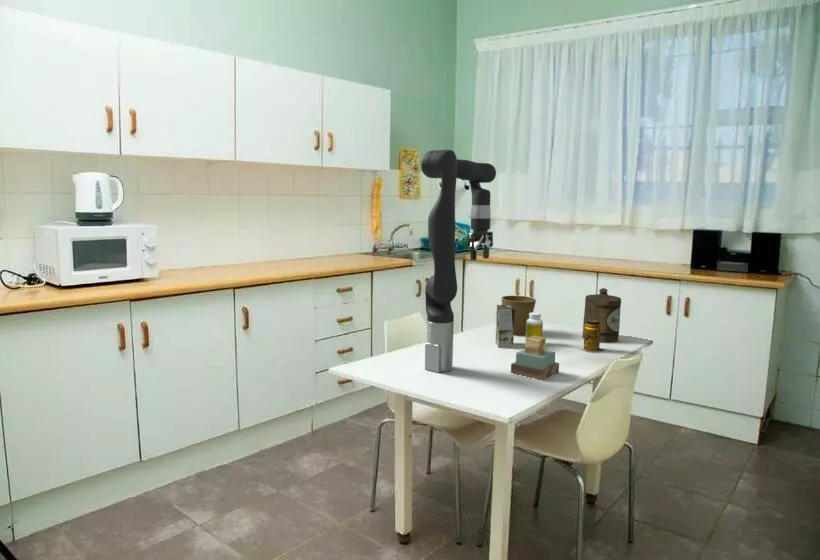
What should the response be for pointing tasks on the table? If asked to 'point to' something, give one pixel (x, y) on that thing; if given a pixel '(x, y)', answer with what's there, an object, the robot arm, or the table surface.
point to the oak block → (535, 345)
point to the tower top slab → (535, 359)
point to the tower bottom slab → (535, 371)
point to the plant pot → (520, 311)
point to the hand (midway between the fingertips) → (479, 259)
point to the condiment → (592, 336)
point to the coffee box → (505, 326)
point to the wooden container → (604, 314)
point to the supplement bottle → (534, 325)
